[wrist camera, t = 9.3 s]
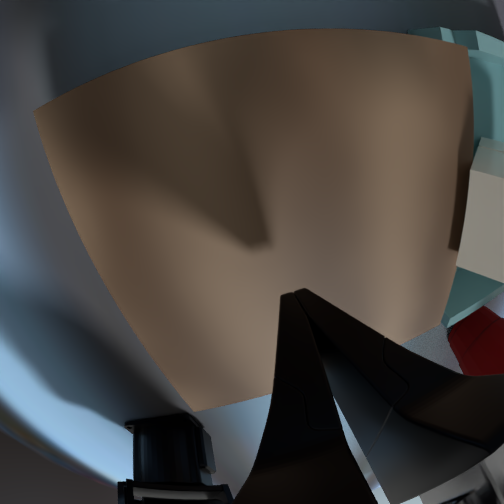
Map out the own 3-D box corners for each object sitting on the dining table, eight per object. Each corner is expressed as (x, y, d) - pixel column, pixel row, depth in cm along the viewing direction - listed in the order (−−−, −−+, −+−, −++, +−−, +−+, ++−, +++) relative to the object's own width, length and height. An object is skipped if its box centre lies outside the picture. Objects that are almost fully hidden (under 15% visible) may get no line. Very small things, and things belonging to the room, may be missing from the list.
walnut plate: (189, 359, 18) (194, 411, 14) (78, 104, 9) (33, 111, 6) (408, 288, 19) (439, 324, 15) (410, 47, 10) (467, 46, 7)
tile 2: (455, 265, 12) (504, 283, 10) (470, 169, 9) (530, 186, 7) (470, 223, 14) (509, 236, 12) (478, 146, 12) (523, 158, 9)
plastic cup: (481, 333, 28) (528, 393, 18) (422, 370, 27) (470, 447, 17) (506, 269, 22) (573, 335, 12) (444, 308, 22) (519, 401, 11)
